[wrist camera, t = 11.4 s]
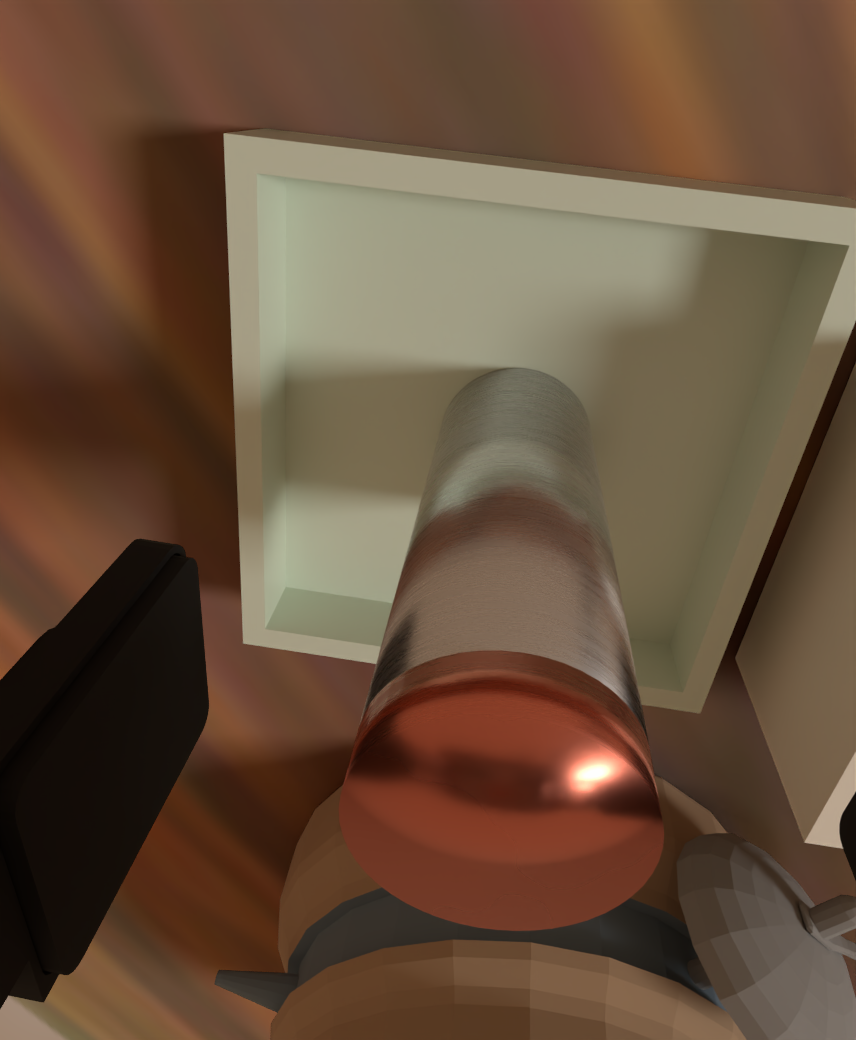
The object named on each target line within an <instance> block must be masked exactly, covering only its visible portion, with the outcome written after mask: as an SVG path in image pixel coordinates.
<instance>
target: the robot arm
mask: <svg viewBox="0 0 856 1040" xmlns="http://www.w3.org/2000/svg"><path fill="white" fill-rule="evenodd" d="M208 709H209V698H208V686H207V674H206V662H205V650H204V638H203V626H202V614H201V602H200V590H199V578H198V567H197V563H196V561H195V559H193V558H188V557H186V554H185V551H184V549H183V547H182V546H180V545H176V544H170V543H164V542H157V541H151V540H145V539H136V540H134V541H133V542H132V543H131V544H130V545H129V546H128V547H127V548H126V549H125V550H124V551H123V553H122V554H121V555H120V556H119V557H118V558H117V559H116V560H115V561H114V563H113V564H112V565H111V566H110V567H109V568H108V569H107V570H106V571H105V573H104V574H103V575H102V576H101V577H100V578H99V579H98V580H97V581H96V583H95V584H94V585H93V586H92V587H91V588H90V589H89V590H88V592H87V593H86V594H85V595H84V596H83V597H82V598H81V599H80V600H79V602H78V603H77V604H76V605H75V606H74V607H73V608H72V609H71V610H70V612H69V613H68V614H67V615H66V616H65V617H64V618H63V619H62V620H61V622H60V623H59V624H58V625H57V626H56V627H55V628H52V629H49V630H48V631H47V632H45V633H44V634H43V635H42V636H41V637H40V638H38V640H37V641H36V642H35V643H34V644H33V645H32V646H31V647H30V648H29V649H28V651H27V652H26V653H25V654H24V655H23V656H22V657H21V658H20V659H19V660H18V662H17V663H16V664H15V665H14V666H13V667H12V668H11V669H10V670H9V671H8V673H7V674H6V675H5V676H4V677H3V678H2V679H1V680H0V1008H1V1007H2V1005H3V1004H4V1002H5V1000H6V999H7V997H8V995H9V996H14V997H19V998H24V999H29V1000H34V1001H39V1002H44V1001H45V999H46V997H47V996H48V994H49V992H50V990H51V988H52V986H53V985H54V983H55V981H56V979H57V977H58V975H59V974H63V975H69V974H70V973H72V972H73V971H74V970H75V969H76V967H77V966H78V965H79V963H80V961H81V960H82V958H83V956H84V955H85V953H86V951H87V949H88V947H89V945H90V943H91V941H92V939H93V937H94V936H95V934H96V932H97V930H98V928H99V926H100V924H101V922H102V920H103V919H104V917H105V915H106V913H107V911H108V909H109V907H110V905H111V903H112V901H113V900H114V898H115V896H116V894H117V892H118V890H119V888H120V886H121V884H122V883H123V881H124V879H125V877H126V875H127V873H128V871H129V869H130V867H131V865H132V864H133V862H134V860H135V858H136V856H137V854H138V852H139V850H140V848H141V847H142V845H143V843H144V841H145V839H146V837H147V835H148V833H149V831H150V829H151V828H152V826H153V824H154V822H155V820H156V818H157V816H158V814H159V812H160V811H161V809H162V807H163V805H164V803H165V801H166V799H167V797H168V795H169V793H170V792H171V790H172V788H173V786H174V784H175V782H176V780H177V778H178V776H179V775H180V773H181V771H182V769H183V767H184V765H185V763H186V761H187V759H188V757H189V756H190V754H191V752H192V750H193V748H194V746H195V744H196V742H197V740H198V739H199V737H200V735H201V733H202V731H203V728H204V726H205V723H206V720H207V716H208ZM839 834H840V840H841V844H842V847H843V849H844V852H845V854H846V857H847V859H848V862H849V865H850V867H851V870H852V872H853V875H854V877H855V880H856V792H855V794H854V795H853V797H852V798H851V800H850V802H849V803H848V805H847V807H846V808H845V810H844V812H843V814H842V816H841V819H840V824H839Z"/></svg>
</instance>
